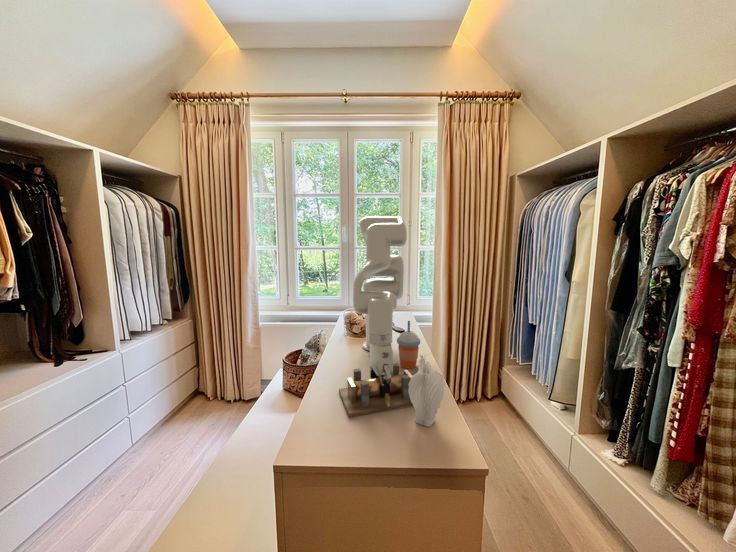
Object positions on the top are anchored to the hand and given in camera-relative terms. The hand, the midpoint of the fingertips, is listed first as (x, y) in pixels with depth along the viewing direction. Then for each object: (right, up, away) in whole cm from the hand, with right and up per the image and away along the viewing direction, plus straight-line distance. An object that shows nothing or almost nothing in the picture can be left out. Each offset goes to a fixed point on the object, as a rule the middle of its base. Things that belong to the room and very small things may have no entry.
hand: (379, 387), depth 94 cm
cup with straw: (+12, 0, +23) cm, 25 cm away
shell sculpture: (+12, -5, -13) cm, 18 cm away
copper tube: (0, -2, -1) cm, 2 cm away
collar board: (0, -3, -1) cm, 3 cm away
